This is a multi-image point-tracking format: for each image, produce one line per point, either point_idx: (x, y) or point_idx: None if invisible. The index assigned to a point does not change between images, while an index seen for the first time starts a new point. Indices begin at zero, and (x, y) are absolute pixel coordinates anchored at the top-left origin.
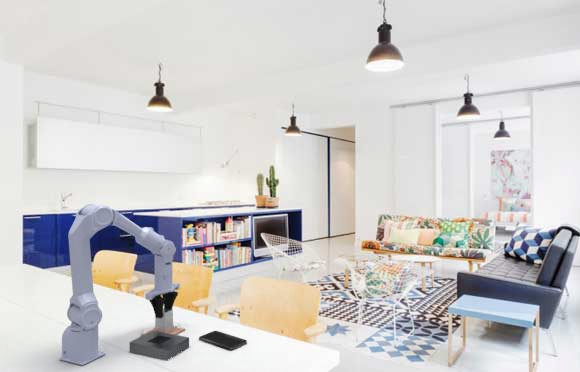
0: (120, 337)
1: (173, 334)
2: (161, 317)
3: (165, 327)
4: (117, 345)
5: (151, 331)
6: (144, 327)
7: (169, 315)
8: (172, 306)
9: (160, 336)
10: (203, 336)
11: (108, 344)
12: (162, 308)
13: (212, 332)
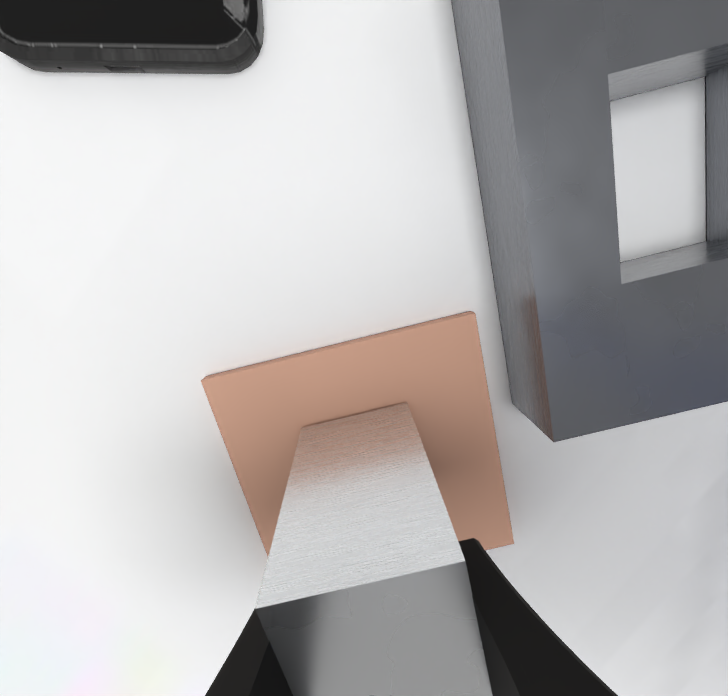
0: (596, 611)
1: (357, 349)
2: (463, 544)
3: (411, 432)
4: (707, 512)
5: None
6: None
7: (343, 529)
8: (216, 689)
9: (613, 262)
10: (190, 39)
11: (719, 567)
12: (530, 672)
13: (44, 44)
